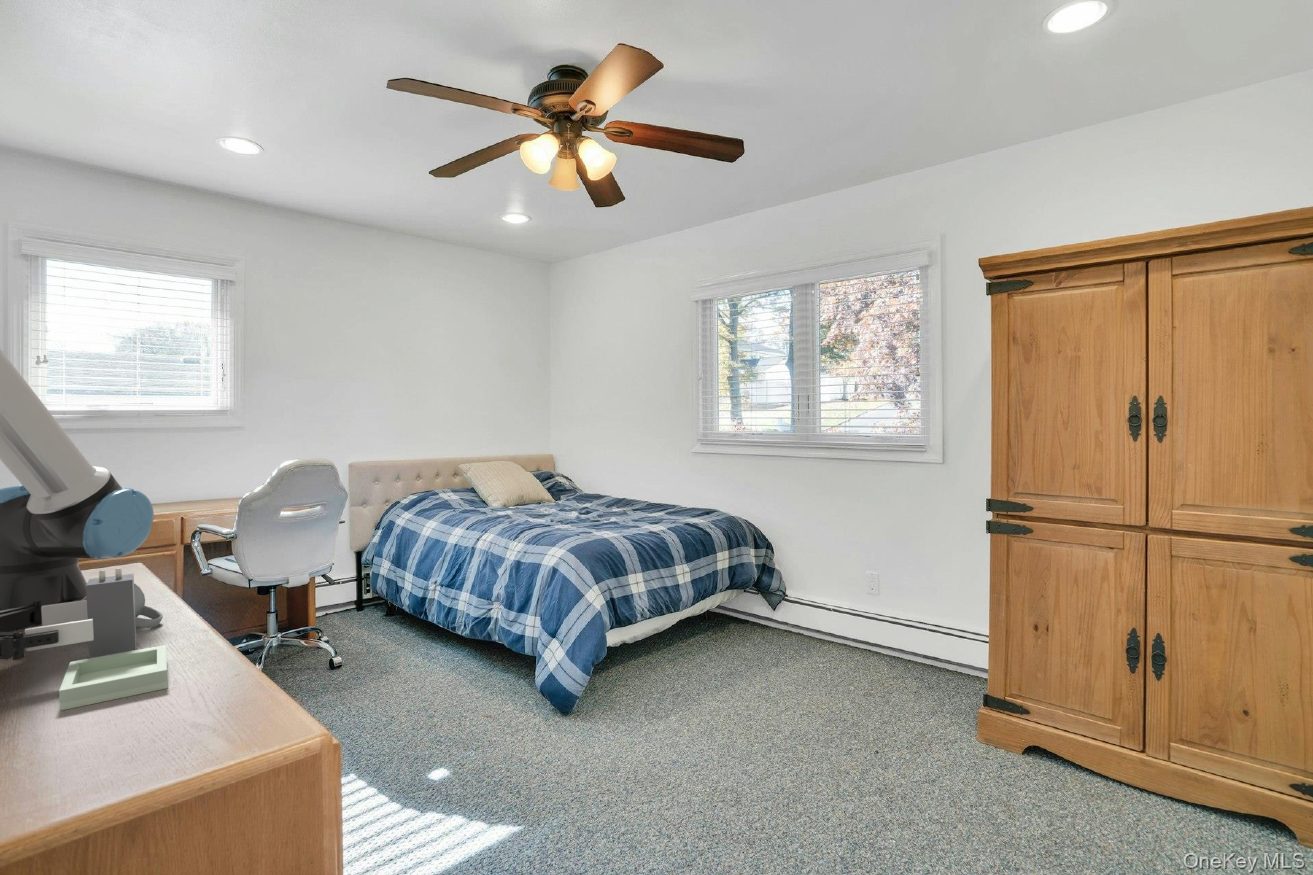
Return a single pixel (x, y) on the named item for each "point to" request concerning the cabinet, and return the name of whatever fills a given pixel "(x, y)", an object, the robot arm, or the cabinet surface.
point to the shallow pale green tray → (114, 677)
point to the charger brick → (111, 613)
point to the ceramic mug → (143, 611)
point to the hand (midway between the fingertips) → (97, 617)
